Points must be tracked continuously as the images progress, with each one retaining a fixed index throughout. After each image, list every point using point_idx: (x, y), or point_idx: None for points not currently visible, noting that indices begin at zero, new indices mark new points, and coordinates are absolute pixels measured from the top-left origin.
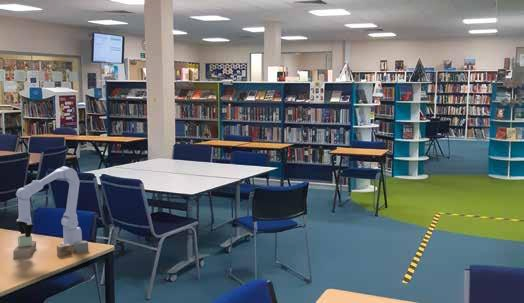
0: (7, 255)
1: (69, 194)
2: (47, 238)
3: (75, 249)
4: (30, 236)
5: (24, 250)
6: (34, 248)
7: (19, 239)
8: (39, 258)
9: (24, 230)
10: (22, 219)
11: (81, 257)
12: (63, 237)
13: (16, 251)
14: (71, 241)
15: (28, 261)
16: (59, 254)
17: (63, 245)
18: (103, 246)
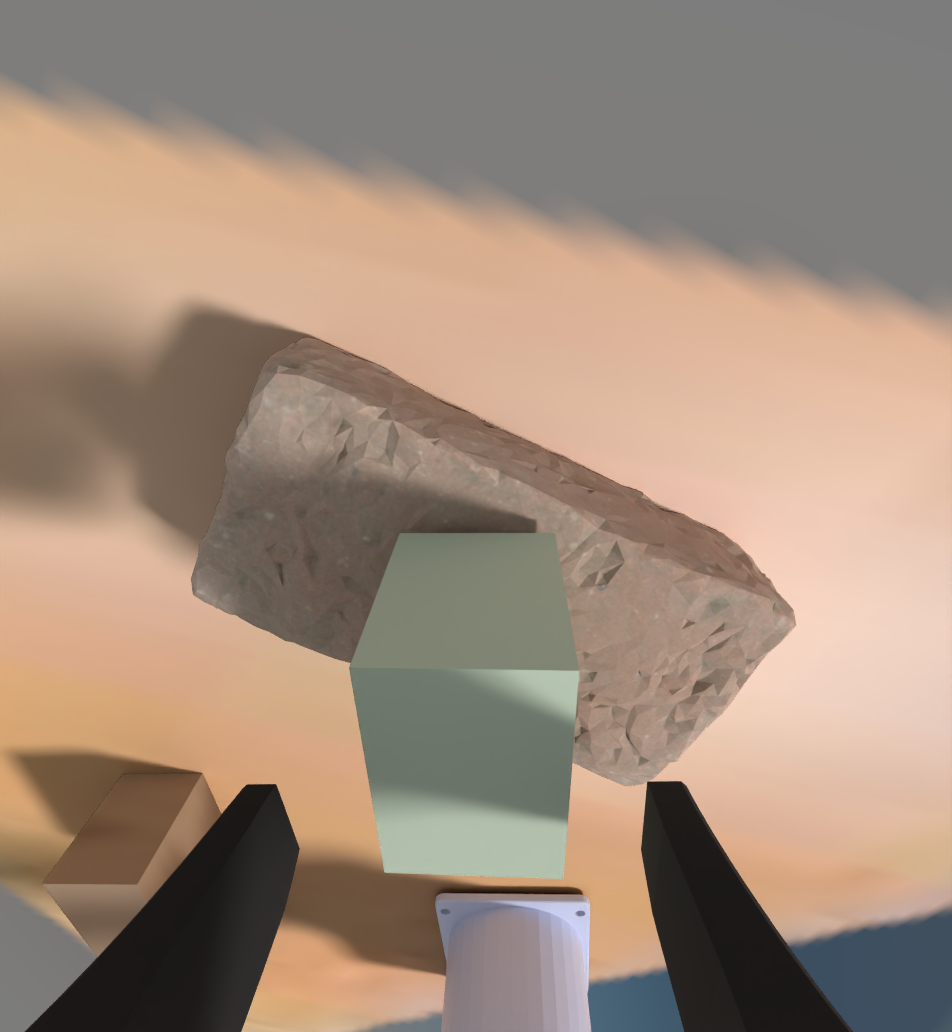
0: (528, 281)
1: None
2: (914, 870)
3: None
4: (383, 845)
5: (205, 539)
6: None
7: (409, 630)
8: (126, 613)
9: (101, 1021)
10: None
11: (17, 868)
12: (533, 994)
13: (245, 415)
14: (447, 972)
15: (35, 476)
16: (129, 789)
17: (114, 922)
18: (271, 1020)
